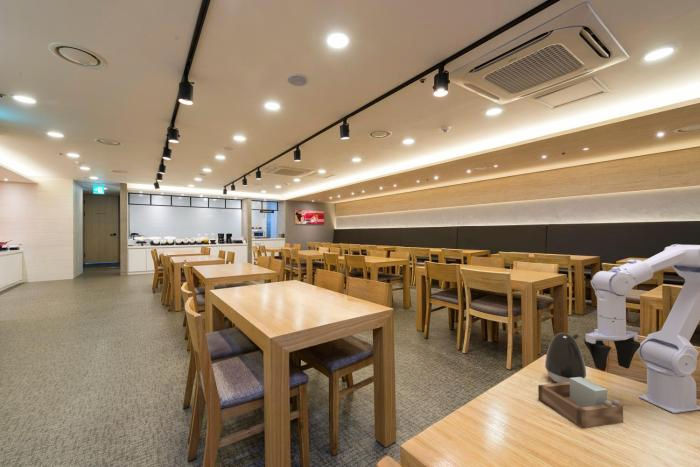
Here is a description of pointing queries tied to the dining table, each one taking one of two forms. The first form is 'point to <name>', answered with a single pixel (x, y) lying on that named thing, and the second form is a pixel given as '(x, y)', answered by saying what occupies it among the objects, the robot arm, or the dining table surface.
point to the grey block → (586, 392)
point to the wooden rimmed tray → (581, 416)
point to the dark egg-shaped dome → (564, 358)
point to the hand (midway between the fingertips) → (612, 368)
